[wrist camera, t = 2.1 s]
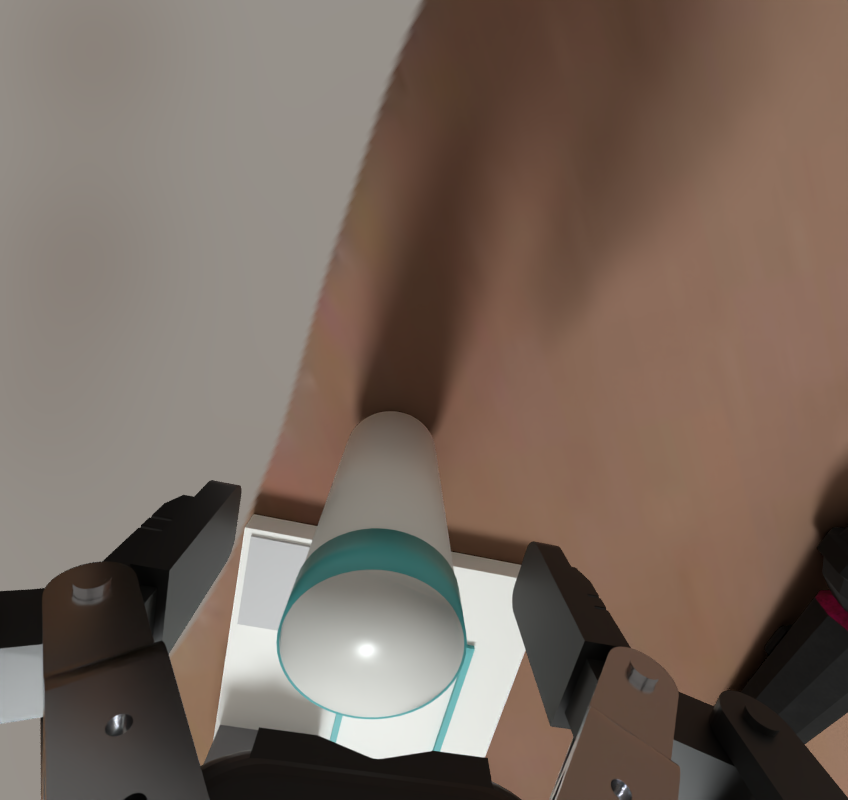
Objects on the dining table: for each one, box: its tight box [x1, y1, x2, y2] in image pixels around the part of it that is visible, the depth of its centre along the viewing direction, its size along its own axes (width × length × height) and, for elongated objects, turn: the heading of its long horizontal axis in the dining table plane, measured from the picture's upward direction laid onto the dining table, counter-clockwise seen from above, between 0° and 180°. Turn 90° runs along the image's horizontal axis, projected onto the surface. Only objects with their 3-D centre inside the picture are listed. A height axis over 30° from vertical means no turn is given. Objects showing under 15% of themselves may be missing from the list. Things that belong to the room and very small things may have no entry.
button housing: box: [204, 725, 258, 764], centre depth 20 cm, size 5×5×3 cm
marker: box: [276, 411, 467, 719], centre depth 13 cm, size 4×4×10 cm
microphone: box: [741, 526, 848, 744], centre depth 20 cm, size 6×6×20 cm
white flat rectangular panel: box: [213, 514, 526, 759], centre depth 21 cm, size 16×13×1 cm
